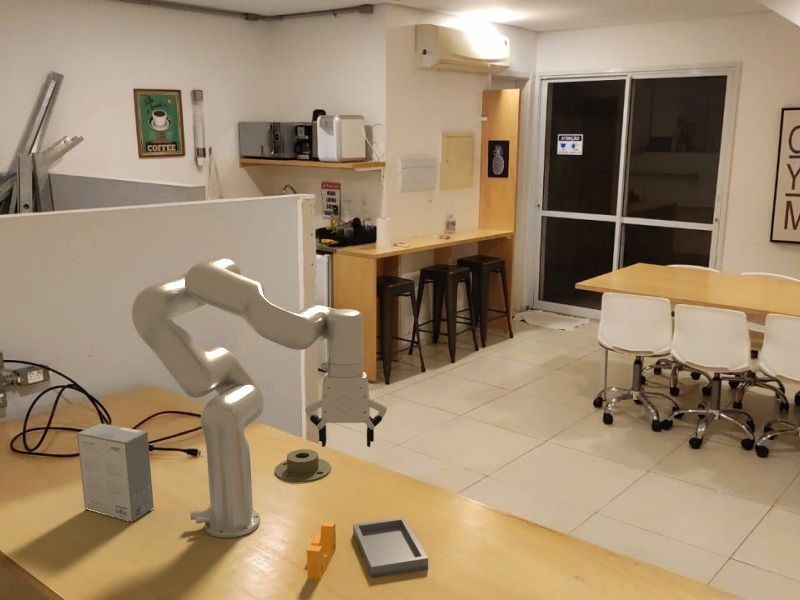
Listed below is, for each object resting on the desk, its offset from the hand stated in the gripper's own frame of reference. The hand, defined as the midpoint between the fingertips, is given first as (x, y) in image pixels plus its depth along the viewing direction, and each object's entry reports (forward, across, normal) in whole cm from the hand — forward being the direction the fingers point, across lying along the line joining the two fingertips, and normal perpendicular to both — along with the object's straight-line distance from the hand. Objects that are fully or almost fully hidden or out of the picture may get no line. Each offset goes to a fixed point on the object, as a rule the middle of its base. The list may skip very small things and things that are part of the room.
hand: (346, 444), depth 161 cm
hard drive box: (+24, -56, +16) cm, 63 cm away
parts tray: (+23, +9, -4) cm, 25 cm away
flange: (+24, -14, +37) cm, 47 cm away
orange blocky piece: (+24, -6, -8) cm, 26 cm away
